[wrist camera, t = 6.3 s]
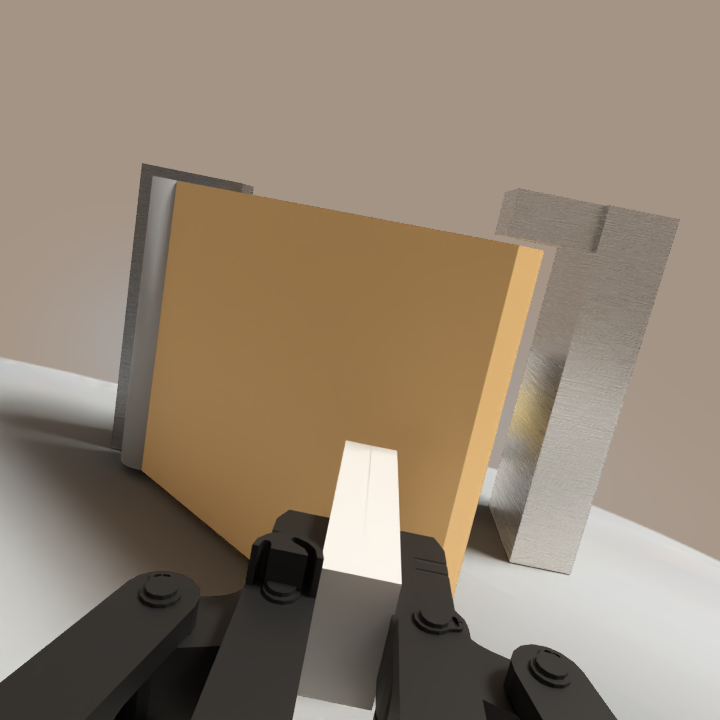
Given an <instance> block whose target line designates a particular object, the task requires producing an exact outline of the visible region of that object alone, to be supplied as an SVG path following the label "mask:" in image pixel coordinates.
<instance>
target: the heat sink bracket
mask: <svg viewBox="0 0 720 720" xmlns="http://www.w3.org/2000/svg"><path fill="white" fill-rule="evenodd" d="M153 176H157V177H162V178H167V179H172V180H177V181H182V182H187V183H193V184H198V185H203V186H208V187H214V188H219V189H224V190H230V191H235V192H240V193H245V194H251V195H252V194H253V187H252V186H249V185H245V184H242V183H237V182H232V181H227V180H222V179H217V178H212V177H207V176H202V175H197V174H192V173H188V172H183V171H177V170H173V169H167V168H163V167H158V166H153V165H148V164H143V163H142V170H141V178H140V189H139V197H138V206H137V215H136V224H135V233H134V242H133V252H132V261H131V270H130V279H129V288H128V298H127V307H126V315H125V326H124V334H123V343H122V352H121V362H120V370H119V381H118V389H117V398H116V407H115V416H114V425H113V434H112V443H111V448H114V449H119V450H122V441H123V433H124V424H125V415H126V406H127V397H128V389H129V380H130V371H131V362H132V353H133V345H134V336H135V327H136V318H137V309H138V301H139V292H140V283H141V274H142V266H143V257H144V248H145V239H146V230H147V222H148V213H149V204H150V195H151V186H152V178H153ZM679 221H680V220H679V219H674V218H670V217H664V216H660V215H655V214H650V213H645V212H640V211H635V210H629V209H625V208H620V207H615V206H610V205H609V206H604V205H599V204H594V203H589V202H583V201H579V200H573V199H569V198H564V197H559V196H554V195H549V194H544V193H539V192H534V191H529V190H524V189H520V188H518V189H515V190H512V191H508V192H505V195H504V199H503V203H502V208H501V211H500V216H499V220H498V224H497V228H496V232H495V235H500V236H505V237H510V238H515V239H520V240H525V241H530V242H534V243H539V244H544V245H549V246H554V247H557V251H556V255H555V258H554V262H553V266H552V270H551V274H550V277H549V281H548V285H547V288H546V292H545V296H544V300H543V303H542V307H541V311H540V315H539V319H538V323H537V326H536V330H535V334H534V337H533V341H532V345H531V348H530V352H529V356H528V360H527V363H526V367H525V371H524V375H523V378H522V382H521V386H520V390H519V394H518V397H517V401H516V405H515V408H514V412H513V416H512V420H511V423H510V428H509V431H508V435H507V438H506V443H505V446H504V450H503V453H502V458H501V461H500V465H499V469H498V472H497V476H496V480H495V483H494V487H493V491H492V495H491V498H490V502H489V508H490V511H491V514H492V516H493V519H494V522H495V524H496V527H497V530H498V533H499V535H500V538H501V541H502V543H503V546H504V549H505V552H506V554H507V557H508V560H509V562H512V563H516V564H521V565H526V566H531V567H536V568H541V569H546V570H551V571H556V572H561V573H566V574H571V570H572V567H573V564H574V561H575V557H576V554H577V551H578V548H579V544H580V541H581V538H582V535H583V531H584V528H585V525H586V522H587V519H588V515H589V512H590V509H591V506H592V502H593V499H594V496H595V493H596V489H597V486H598V483H599V480H600V476H601V473H602V470H603V467H604V463H605V460H606V457H607V454H608V450H609V447H610V444H611V441H612V437H613V434H614V431H615V428H616V425H617V421H618V418H619V415H620V412H621V408H622V405H623V402H624V398H625V395H626V392H627V389H628V386H629V382H630V379H631V376H632V373H633V370H634V366H635V363H636V360H637V357H638V353H639V350H640V346H641V344H642V340H643V337H644V334H645V330H646V327H647V324H648V321H649V318H650V314H651V311H652V308H653V305H654V301H655V298H656V295H657V292H658V288H659V285H660V282H661V279H662V276H663V272H664V269H665V266H666V263H667V259H668V256H669V253H670V250H671V246H672V243H673V240H674V237H675V233H676V230H677V227H678V224H679Z"/></svg>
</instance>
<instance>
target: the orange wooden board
mask: <svg viewBox="0 0 720 720" xmlns="http://www.w3.org/2000/svg"><path fill="white" fill-rule="evenodd" d="M543 253H544V251H541V250H537V249H533V248H528V247H524V246H520V245H514V244H509V243H504V242H499V241H493V240H488V239H483V238H478V237H472V236H467V235H462V234H456V233H451V232H446V231H440V230H435V229H430V228H425V227H420V226H414V225H409V224H404V223H398V222H393V221H387V220H383V219H377V218H372V217H367V216H362V215H356V214H351V213H345V212H340V211H335V210H330V209H324V208H319V207H314V206H309V205H303V204H298V203H293V202H287V201H282V200H277V199H272V198H267V197H261V196H256V195H251V194H245V193H240V192H235V191H230V190H224V189H219V188H214V187H208V186H203V185H198V184H193V183H187V182H182V181H177V180H172V179H167V178H162V177H157V176H153V178H152V186H151V195H150V204H149V213H148V222H147V230H146V239H145V248H144V257H143V266H142V274H141V283H140V292H139V301H138V309H137V318H136V327H135V336H134V345H133V353H132V362H131V371H130V380H129V389H128V397H127V406H126V415H125V424H124V433H123V441H122V450H121V462H122V463H123V464H124V465H126V466H128V467H131V468H134V469H139V470H142V471H143V472H144V473H145V474H147V475H148V476H149V477H150V478H151V479H153V480H154V481H155V482H156V483H157V484H159V485H160V486H161V487H162V488H164V489H165V490H166V491H167V492H168V493H170V494H171V495H172V496H173V497H174V498H176V499H177V500H178V501H179V502H180V503H182V504H183V505H184V506H185V507H187V508H188V509H189V510H190V511H191V512H193V513H194V514H195V515H196V516H197V517H199V518H200V519H201V520H202V521H203V522H205V523H206V524H207V525H208V526H209V527H211V528H212V529H213V530H214V531H216V532H217V533H218V534H219V535H220V536H222V537H223V538H224V539H225V540H226V541H228V542H229V543H230V544H231V545H232V546H234V547H235V548H236V549H237V550H239V551H240V552H241V553H242V554H243V555H245V556H246V557H247V558H248V559H249V560H250V554H251V549H252V544H253V543H254V542H255V541H256V539H257V538H258V537H261V536H263V535H265V534H268V533H271V532H272V530H273V527H274V524H275V522H276V519H277V518H278V517H279V516H281V515H282V514H284V513H285V512H287V511H288V510H294V511H299V512H304V513H309V514H314V515H318V516H323V517H328V518H330V515H331V510H332V506H333V501H334V496H335V491H336V486H337V481H338V477H339V472H340V467H341V462H342V457H343V452H344V448H345V443H346V441H351V442H356V443H361V444H366V445H371V446H376V447H381V448H386V449H391V450H395V451H397V460H398V490H399V519H400V531H404V532H409V533H414V534H419V535H424V536H429V537H434V538H435V539H436V541H437V542H438V543H439V544H440V546H441V547H442V548H443V549H444V551H445V557H446V563H447V565H446V566H447V568H448V574H449V575H448V577H449V580H450V586H451V592H452V598H453V596H454V593H455V589H456V585H457V581H458V577H459V573H460V570H461V566H462V562H463V558H464V554H465V551H466V547H467V543H468V539H469V535H470V531H471V528H472V524H473V520H474V516H475V512H476V509H477V505H478V501H479V497H480V493H481V489H482V486H483V482H484V478H485V474H486V470H487V467H488V463H489V459H490V455H491V451H492V447H493V444H494V440H495V436H496V432H497V428H498V425H499V421H500V417H501V413H502V409H503V405H504V402H505V398H506V394H507V390H508V386H509V382H510V379H511V375H512V371H513V367H514V363H515V360H516V356H517V352H518V348H519V344H520V341H521V337H522V333H523V329H524V325H525V322H526V318H527V314H528V310H529V306H530V302H531V299H532V294H533V291H534V287H535V283H536V280H537V275H538V272H539V268H540V264H541V260H542V257H543Z"/></svg>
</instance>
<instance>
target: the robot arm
mask: <svg viewBox="0 0 720 720" xmlns="http://www.w3.org/2000/svg"><path fill="white" fill-rule="evenodd" d="M446 565H447V563H446V557H445V551H444V549H443V548H442V547H441V546H440V544H439V543H438V542H437V541H436V539H435V538H434V537H429V536H424V535H419V534H414V533H409V532H404V531H400V519H399V490H398V460H397V451H395V450H391V449H386V448H381V447H376V446H371V445H366V444H361V443H356V442H351V441H346V443H345V448H344V452H343V457H342V462H341V467H340V472H339V477H338V481H337V486H336V491H335V496H334V501H333V506H332V510H331V515H330V518H328V517H323V516H318V515H314V514H309V513H304V512H299V511H294V510H288V511H287V512H285V513H284V514H282V515H281V516H279V517H278V518H277V519H276V522H275V524H274V527H273V530H272V532H271V533H268V534H265V535H263V536H261V537H258V538H257V539H256V541H255V542H254V543H253V544H252V549H251V554H250V560H249V566H248V572H247V578H246V583H245V586H244V589H242V590H240V591H238V592H236V593H232V594H229V595H224V596H209V597H200V595H199V588H198V587H197V585H196V584H195V583H194V581H193V580H191V579H189V578H187V577H186V576H184V575H182V574H177V573H173V572H169V571H159V572H150V573H146V574H141V575H139V576H137V577H135V578H133V579H131V580H129V581H128V582H126V583H125V584H124V585H123V586H121V587H120V588H119V589H118V590H116V591H115V592H114V593H113V594H111V595H110V596H109V597H108V598H106V599H105V600H104V601H103V602H101V603H100V604H99V605H98V606H96V607H95V608H94V609H92V610H91V611H90V612H89V613H87V614H86V615H85V616H84V617H82V618H81V619H80V620H79V621H77V622H76V623H75V624H74V625H72V626H71V627H70V628H69V629H67V630H66V631H65V632H64V633H62V634H61V635H60V636H58V637H57V638H56V639H55V640H53V641H52V642H51V643H50V644H48V645H47V646H46V647H45V648H43V649H42V650H41V651H40V652H38V653H37V654H36V655H35V656H33V657H32V658H31V659H30V660H28V661H27V662H26V663H24V664H23V665H22V666H21V667H19V668H18V669H17V670H16V671H14V672H13V673H12V674H11V675H9V676H8V677H7V678H6V679H4V680H3V681H2V682H1V683H0V720H292V719H293V713H294V708H295V703H296V698H297V695H299V696H304V697H309V698H313V699H318V700H323V701H328V702H333V703H338V704H342V705H347V706H352V707H357V708H362V709H367V710H372V707H373V703H374V698H375V694H376V709H375V713H374V718H373V720H617V719H616V717H615V716H614V714H613V713H612V712H611V710H610V709H609V707H608V706H607V705H606V703H605V702H604V700H603V699H602V698H601V696H600V695H599V693H598V692H597V691H596V689H595V688H594V686H593V685H592V684H591V682H590V681H589V679H588V678H587V677H586V675H585V674H584V673H583V671H582V670H581V669H580V668H579V667H578V666H577V665H576V664H575V663H574V662H573V661H571V660H570V659H568V658H567V657H566V656H564V655H563V654H561V653H559V652H557V651H555V650H552V649H550V648H547V647H544V646H538V645H533V644H531V645H523V646H520V647H518V648H517V649H516V650H514V651H513V654H512V657H511V660H510V659H507V658H505V657H503V656H500V655H498V654H496V653H494V652H491V651H489V650H487V649H485V648H484V647H482V646H480V645H478V644H477V643H476V642H474V641H473V640H471V638H470V633H469V629H468V627H467V624H466V622H465V620H464V619H463V618H462V617H461V616H460V615H459V614H458V613H457V612H456V611H455V609H454V603H453V598H452V592H451V586H450V580H449V577H448V575H449V574H448V568H447V566H446Z"/></svg>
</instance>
